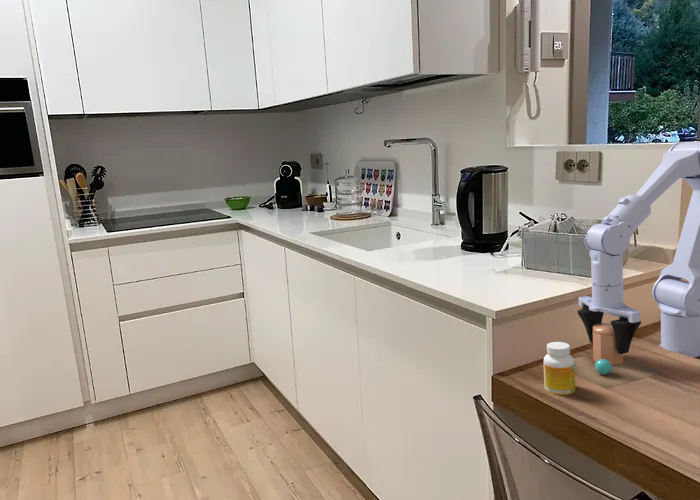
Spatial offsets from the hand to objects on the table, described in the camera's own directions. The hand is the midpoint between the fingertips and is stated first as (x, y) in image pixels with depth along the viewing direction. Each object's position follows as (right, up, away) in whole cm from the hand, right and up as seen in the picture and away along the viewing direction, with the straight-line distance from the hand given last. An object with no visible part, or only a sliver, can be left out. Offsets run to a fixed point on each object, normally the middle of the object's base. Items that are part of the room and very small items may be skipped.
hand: (608, 347), depth 110 cm
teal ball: (-4, -3, -6) cm, 8 cm away
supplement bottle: (-14, -7, -10) cm, 18 cm away
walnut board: (-2, -5, -3) cm, 6 cm away
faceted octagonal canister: (0, -3, 0) cm, 3 cm away
